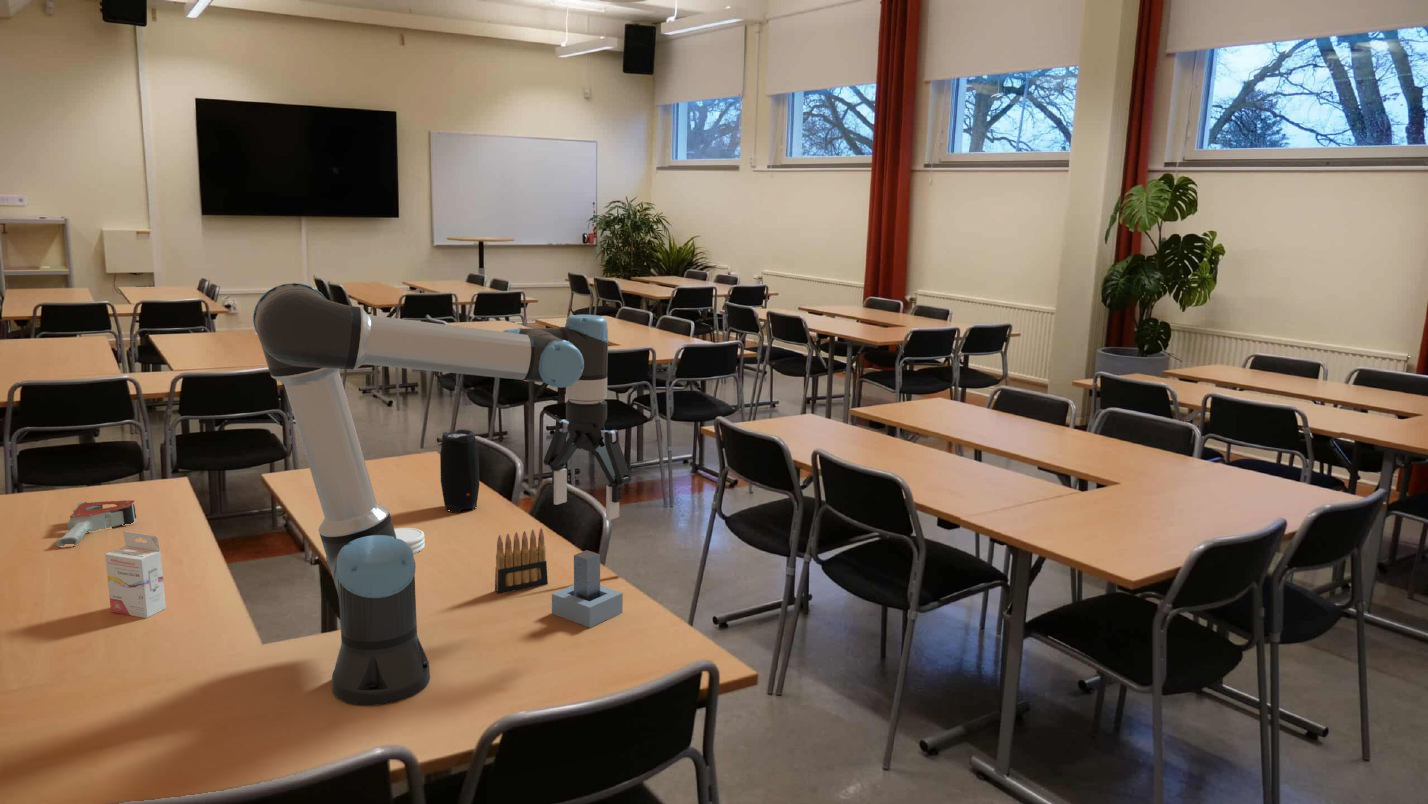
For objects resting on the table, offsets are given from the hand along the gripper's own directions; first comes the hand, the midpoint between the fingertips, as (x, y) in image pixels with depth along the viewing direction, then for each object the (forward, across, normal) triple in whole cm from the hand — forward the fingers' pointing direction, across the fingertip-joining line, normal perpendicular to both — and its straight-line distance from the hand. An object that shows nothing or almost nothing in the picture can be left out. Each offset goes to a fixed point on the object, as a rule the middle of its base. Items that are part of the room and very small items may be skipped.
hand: (585, 510), depth 188 cm
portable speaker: (+21, +69, -26) cm, 76 cm away
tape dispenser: (+22, +119, +40) cm, 127 cm away
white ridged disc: (+21, +56, +1) cm, 60 cm away
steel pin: (+20, 0, 0) cm, 20 cm away
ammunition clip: (+21, +19, -1) cm, 28 cm away
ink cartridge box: (+22, +65, +53) cm, 87 cm away
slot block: (+21, 0, 0) cm, 21 cm away
